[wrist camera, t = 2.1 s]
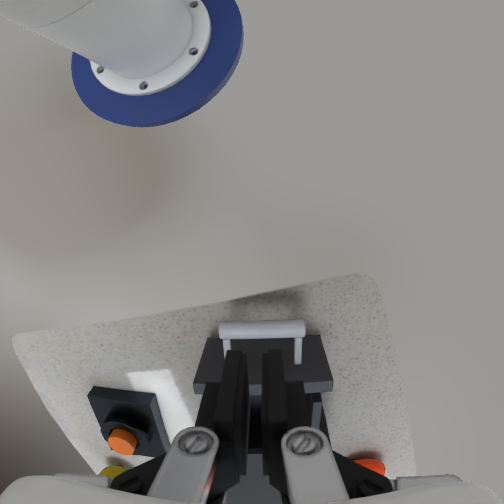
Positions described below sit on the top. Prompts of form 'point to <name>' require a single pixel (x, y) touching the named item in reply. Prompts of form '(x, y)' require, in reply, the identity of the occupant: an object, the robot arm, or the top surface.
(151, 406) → the control block
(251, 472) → the dark grey drawer cabinet
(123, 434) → the button
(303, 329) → the basket drawer
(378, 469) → the pumpkin
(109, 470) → the lemon
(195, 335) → the top surface
